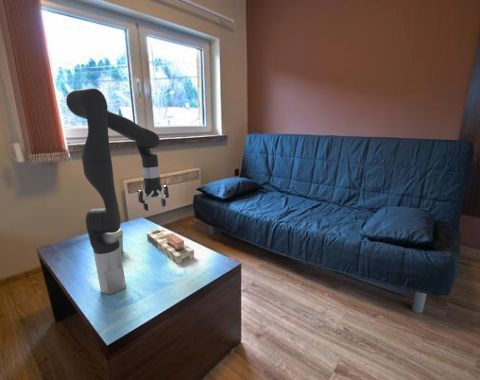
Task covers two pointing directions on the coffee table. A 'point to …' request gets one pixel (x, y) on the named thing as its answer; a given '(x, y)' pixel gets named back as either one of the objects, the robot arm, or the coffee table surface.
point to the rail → (169, 246)
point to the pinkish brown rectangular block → (175, 241)
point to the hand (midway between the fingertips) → (155, 208)
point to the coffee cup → (118, 235)
